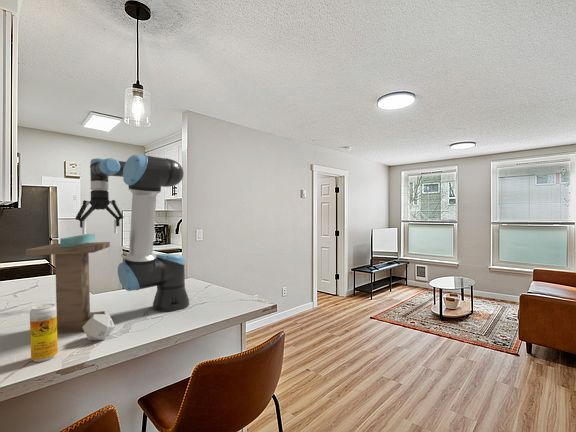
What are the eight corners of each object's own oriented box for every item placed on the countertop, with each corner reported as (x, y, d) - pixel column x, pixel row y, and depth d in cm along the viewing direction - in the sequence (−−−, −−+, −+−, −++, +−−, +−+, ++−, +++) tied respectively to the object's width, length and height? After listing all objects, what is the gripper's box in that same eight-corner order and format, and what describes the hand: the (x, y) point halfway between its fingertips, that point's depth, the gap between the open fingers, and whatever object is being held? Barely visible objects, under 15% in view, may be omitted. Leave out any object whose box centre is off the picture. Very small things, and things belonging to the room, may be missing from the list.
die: (91, 348, 97) (112, 320, 100) (71, 333, 99) (92, 306, 101) (105, 346, 105) (124, 321, 108) (86, 333, 106) (105, 308, 109)
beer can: (33, 365, 85) (31, 311, 85) (29, 358, 89) (27, 306, 89) (60, 357, 90) (58, 305, 90) (55, 351, 94) (53, 302, 94)
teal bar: (87, 240, 134) (87, 233, 134) (95, 240, 135) (94, 233, 135) (60, 247, 109) (60, 238, 109) (70, 246, 110) (69, 238, 110)
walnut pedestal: (55, 319, 123) (53, 243, 123) (111, 313, 128) (109, 241, 128) (28, 338, 104) (25, 249, 103) (95, 331, 109) (93, 246, 109)
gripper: (129, 191, 159) (130, 232, 158) (73, 192, 152) (73, 235, 151) (126, 189, 152) (126, 232, 150) (67, 189, 145) (67, 235, 143)
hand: (100, 233), depth 151 cm, fingers open, 13 cm apart
